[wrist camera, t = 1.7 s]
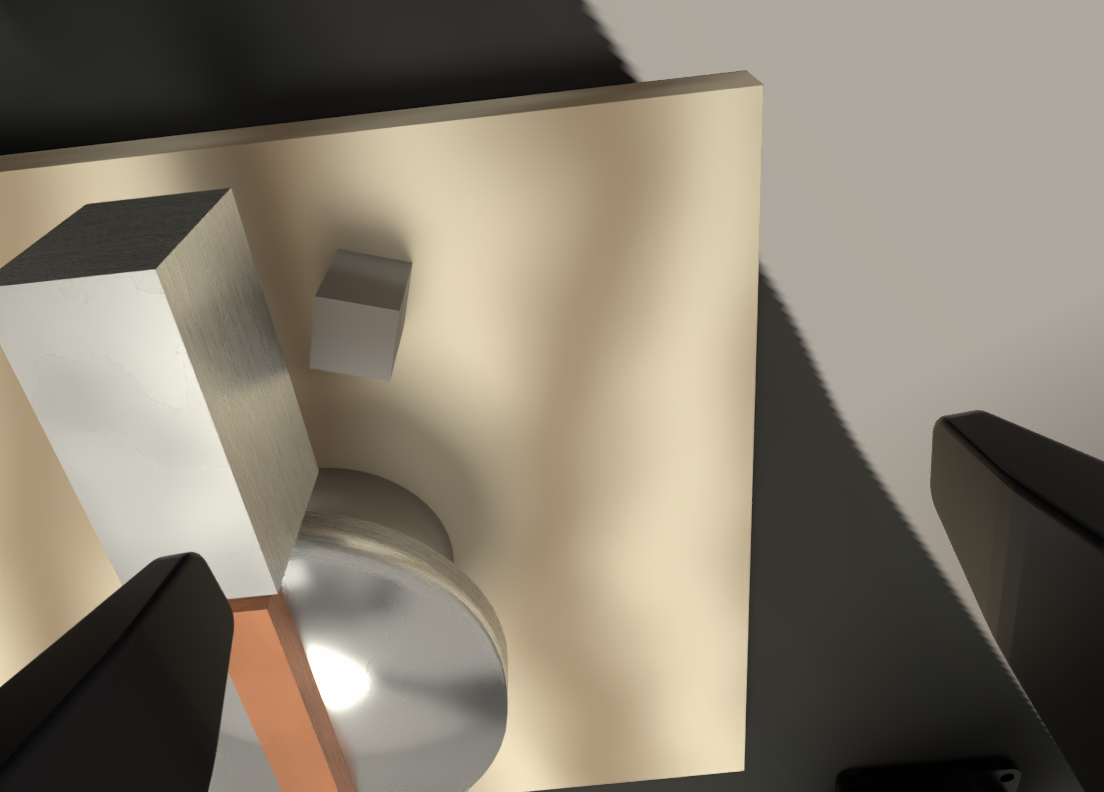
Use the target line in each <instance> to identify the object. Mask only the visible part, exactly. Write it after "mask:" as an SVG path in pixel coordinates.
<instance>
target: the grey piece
mask: <svg viewBox="0 0 1104 792" xmlns="http://www.w3.org/2000/svg"><path fill="white" fill-rule="evenodd" d="M0 345H1V347H2V349H3V351H4V353H5V355H6V357H7V359H8V361H9V363H10V365H11V367H12V369H13V371H14V373H15V375H16V377H17V379H18V381H19V382H20V384H21V386H22V388H23V390H24V392H25V394H26V396H27V398H28V400H29V402H30V404H31V406H32V408H33V410H34V412H35V414H36V416H37V418H38V420H39V422H40V424H41V426H42V428H43V430H44V432H45V434H46V436H47V438H48V440H49V442H50V444H51V446H52V448H53V450H54V452H55V454H56V456H57V457H58V459H59V461H60V463H61V465H62V467H63V469H64V471H65V473H66V475H67V477H68V479H69V481H70V483H71V485H72V487H73V489H74V491H75V493H76V495H77V497H78V499H79V501H80V503H81V505H82V507H83V509H84V511H85V513H86V515H87V517H88V519H89V521H90V523H91V525H92V527H93V529H94V531H95V532H96V534H97V536H98V538H99V540H100V542H101V544H102V546H103V548H104V550H105V552H106V554H107V556H108V558H109V560H110V562H111V564H112V566H113V568H114V570H115V572H116V574H117V576H118V578H119V580H120V582H121V584H122V585H124V584H125V583H126V582H127V581H129V580H130V579H131V578H132V577H133V576H135V575H136V574H137V573H138V572H139V571H141V570H142V569H143V568H144V567H145V566H147V565H148V564H149V563H150V562H152V561H153V560H154V559H156V558H159V557H163V556H168V555H173V554H179V553H184V552H195V553H198V554H200V555H201V556H202V557H203V558H204V559H205V561H206V562H207V564H208V566H209V567H210V569H211V571H212V573H213V575H214V576H215V578H216V580H217V582H218V583H219V585H220V587H221V589H222V591H223V592H224V594H225V596H226V598H227V600H228V601H229V603H230V605H231V608H232V611H233V615H234V635H233V642H232V649H231V656H230V663H229V670H228V677H227V684H226V691H225V698H224V705H223V712H222V719H221V726H220V733H219V740H218V747H217V752H216V758H215V764H214V769H213V773H212V778H211V782H210V786H209V791H208V792H466V791H468V790H469V789H470V788H471V787H472V786H473V785H474V784H475V783H476V782H477V781H478V780H479V779H480V778H481V777H482V776H483V775H484V773H485V772H486V771H487V770H488V768H489V767H490V766H491V764H492V763H493V761H494V759H495V757H496V756H497V754H498V752H499V750H500V748H501V745H502V742H503V739H504V735H505V732H506V724H507V714H508V653H507V642H506V639H505V635H504V632H503V628H502V625H501V623H500V621H499V619H498V616H497V614H496V612H495V610H494V608H493V606H492V605H491V604H490V602H489V601H488V599H487V598H486V596H485V595H484V594H483V592H482V591H481V589H480V588H479V587H478V586H477V585H476V584H475V583H474V582H473V581H472V580H471V579H470V578H469V577H468V576H467V575H466V573H464V572H463V571H462V570H461V569H459V568H458V567H457V566H456V565H455V564H453V563H452V562H451V561H450V560H448V559H447V558H446V557H444V556H443V555H441V554H439V553H438V552H436V551H435V550H433V549H431V548H430V547H428V546H427V545H425V544H423V543H421V542H419V541H417V540H415V539H413V538H411V537H409V536H407V535H405V534H403V533H400V532H398V531H395V530H392V529H389V528H387V527H384V526H381V525H378V524H375V523H372V522H368V521H364V520H360V519H356V518H352V517H348V516H342V515H336V514H329V513H322V512H312V511H306V508H307V505H308V502H309V499H310V496H311V493H312V490H313V487H314V484H315V481H316V478H317V476H318V473H319V470H318V467H317V464H316V460H315V457H314V454H313V451H312V447H311V444H310V441H309V438H308V434H307V431H306V428H305V425H304V422H303V418H302V415H301V412H300V409H299V405H298V402H297V399H296V396H295V392H294V389H293V386H292V383H291V379H290V376H289V373H288V370H287V366H286V363H285V360H284V357H283V354H282V350H281V347H280V344H279V341H278V337H277V334H276V331H275V328H274V324H273V321H272V318H271V315H270V311H269V308H268V305H267V302H266V298H265V295H264V292H263V289H262V285H261V282H260V279H259V276H258V273H257V269H256V266H255V263H254V260H253V256H252V253H251V250H250V247H249V243H248V240H247V237H246V234H245V230H244V227H243V224H242V221H241V217H240V214H239V211H238V208H237V205H236V201H235V198H234V195H233V192H232V188H223V189H215V190H206V191H197V192H188V193H179V194H170V195H161V196H152V197H144V198H135V199H126V200H117V201H108V202H99V203H90V204H85V205H84V206H83V207H81V208H80V209H79V210H77V211H76V212H75V213H73V214H72V215H71V216H69V217H68V218H67V219H65V220H64V221H63V222H61V223H60V224H59V225H57V226H56V227H55V228H53V229H52V230H51V231H50V232H48V233H47V234H46V235H44V236H43V237H42V238H40V239H39V240H38V241H36V242H35V243H34V244H32V245H31V246H30V247H28V248H27V249H26V250H24V251H23V252H22V253H20V254H19V255H18V256H16V257H15V258H14V259H12V260H11V261H10V262H8V263H7V264H6V265H4V266H3V267H2V268H0Z"/></svg>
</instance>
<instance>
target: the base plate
mask: <svg viewBox="0 0 1104 792" xmlns="http://www.w3.org/2000/svg"><path fill="white" fill-rule="evenodd" d="M763 93H764V85H763V84H762V83H761V82H759V81H758V80H757V79H756V78H755V77H753V76H752V75H751V74H750V73H748V72H747V71H746V70H745V71H736V72H728V73H720V74H710V75H702V76H693V77H684V78H675V79H667V80H658V81H649V82H640V83H632V84H623V85H614V86H605V87H597V88H588V89H579V90H570V91H562V92H553V93H544V94H535V95H527V96H518V97H509V98H500V99H492V100H483V101H474V102H465V103H457V104H448V105H439V106H430V107H422V108H413V109H404V110H395V111H387V112H378V113H369V114H360V115H352V116H343V117H334V118H325V119H317V120H308V121H299V122H290V123H282V124H273V125H264V126H255V127H247V128H238V129H229V130H221V131H212V132H203V133H194V134H186V135H177V136H168V137H159V138H151V139H142V140H133V141H124V142H116V143H107V144H98V145H89V146H81V147H72V148H63V149H54V150H46V151H37V152H28V153H19V154H11V155H2V156H0V268H2V267H3V266H4V265H6V264H7V263H8V262H10V261H11V260H12V259H14V258H15V257H16V256H18V255H19V254H20V253H22V252H23V251H24V250H26V249H27V248H28V247H30V246H31V245H32V244H34V243H35V242H36V241H38V240H39V239H40V238H42V237H43V236H44V235H46V234H47V233H48V232H50V231H51V230H52V229H53V228H55V227H56V226H57V225H59V224H60V223H61V222H63V221H64V220H65V219H67V218H68V217H69V216H71V215H72V214H73V213H75V212H76V211H77V210H79V209H80V208H81V207H83V206H84V205H85V204H90V203H99V202H108V201H117V200H126V199H135V198H144V197H152V196H161V195H170V194H179V193H188V192H197V191H206V190H215V189H223V188H232V192H233V195H234V198H235V201H236V205H237V208H238V211H239V214H240V217H241V221H242V224H243V227H244V230H245V234H246V237H247V240H248V243H249V247H250V250H251V253H252V256H253V260H254V263H255V266H256V269H257V273H258V276H259V279H260V282H261V285H262V289H263V292H264V295H265V298H266V302H267V305H268V308H269V311H270V315H271V318H272V321H273V324H274V328H275V331H276V334H277V337H278V341H279V344H280V347H281V350H282V354H283V357H284V360H285V363H286V366H287V370H288V373H289V376H290V379H291V383H292V386H293V389H294V392H295V396H296V399H297V402H298V405H299V409H300V412H301V415H302V418H303V422H304V425H305V428H306V431H307V434H308V438H309V441H310V444H311V447H312V451H313V454H314V457H315V460H316V464H317V467H318V470H319V473H318V476H317V478H316V481H315V484H314V487H313V490H312V493H311V496H310V499H309V502H308V505H307V508H306V511H312V512H322V513H329V514H336V515H342V516H348V517H352V518H356V519H360V520H364V521H368V522H372V523H375V524H378V525H381V526H384V527H387V528H389V529H392V530H395V531H398V532H400V533H403V534H405V535H407V536H409V537H411V538H413V539H415V540H417V541H419V542H421V543H423V544H425V545H427V546H428V547H430V548H431V549H433V550H435V551H436V552H438V553H439V554H441V555H443V556H444V557H446V558H447V559H448V560H450V561H451V562H452V563H453V564H455V565H456V566H457V567H458V568H459V569H461V570H462V571H463V572H464V573H466V575H467V576H468V577H469V578H470V579H471V580H472V581H473V582H474V583H475V584H476V585H477V586H478V587H479V588H480V589H481V591H482V592H483V594H484V595H485V596H486V598H487V599H488V601H489V602H490V604H491V605H492V606H493V608H494V610H495V612H496V614H497V616H498V619H499V621H500V623H501V625H502V628H503V632H504V635H505V639H506V642H507V653H508V714H507V724H506V732H505V735H504V739H503V742H502V745H501V748H500V750H499V752H498V754H497V756H496V757H495V759H494V761H493V763H492V764H491V766H490V767H489V768H488V770H487V771H486V772H485V773H484V775H483V776H482V777H481V778H480V779H479V780H478V781H477V782H476V783H475V784H474V785H473V786H472V787H471V788H470V789H469V790H468V791H466V792H526V791H536V790H547V789H557V788H568V787H578V786H589V785H599V784H610V783H620V782H631V781H642V780H652V779H663V778H673V777H684V776H694V775H705V774H715V773H726V772H736V771H744V756H745V721H746V686H747V651H748V616H749V582H750V547H751V512H752V477H753V442H754V408H755V373H756V338H757V303H758V268H759V232H760V199H761V198H760V196H761V161H762V129H763ZM121 586H122V584H121V582H120V580H119V578H118V576H117V574H116V572H115V570H114V568H113V566H112V564H111V562H110V560H109V558H108V556H107V554H106V552H105V550H104V548H103V546H102V544H101V542H100V540H99V538H98V536H97V534H96V532H95V531H94V529H93V527H92V525H91V523H90V521H89V519H88V517H87V515H86V513H85V511H84V509H83V507H82V505H81V503H80V501H79V499H78V497H77V495H76V493H75V491H74V489H73V487H72V485H71V483H70V481H69V479H68V477H67V475H66V473H65V471H64V469H63V467H62V465H61V463H60V461H59V459H58V457H57V456H56V454H55V452H54V450H53V448H52V446H51V444H50V442H49V440H48V438H47V436H46V434H45V432H44V430H43V428H42V426H41V424H40V422H39V420H38V418H37V416H36V414H35V412H34V410H33V408H32V406H31V404H30V402H29V400H28V398H27V396H26V394H25V392H24V390H23V388H22V386H21V384H20V382H19V381H18V379H17V377H16V375H15V373H14V371H13V369H12V367H11V365H10V363H9V361H8V359H7V357H6V355H5V353H4V351H3V349H2V347H1V345H0V687H1V686H2V685H3V684H4V683H5V682H7V681H8V680H9V679H10V678H12V677H13V676H14V675H15V674H16V673H18V672H19V671H20V670H21V669H22V668H24V667H25V666H26V665H27V664H28V663H30V662H31V661H32V660H33V659H34V658H36V657H37V656H38V655H39V654H40V653H42V652H43V651H44V650H45V649H46V648H48V647H49V646H50V645H51V644H53V643H54V642H55V641H56V640H57V639H59V638H60V637H61V636H62V635H63V634H65V633H66V632H67V631H68V630H69V629H71V628H72V627H73V626H74V625H75V624H77V623H78V622H79V621H80V620H81V619H83V618H84V617H85V616H86V615H88V614H89V613H90V612H91V611H92V610H94V609H95V608H96V607H97V606H98V605H100V604H101V603H102V602H103V601H104V600H106V599H107V598H108V597H109V596H110V595H112V594H113V593H114V592H115V591H116V590H118V589H119V588H120V587H121Z"/></svg>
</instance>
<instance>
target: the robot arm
mask: <svg viewBox="0 0 1104 792" xmlns="http://www.w3.org/2000/svg"><path fill="white" fill-rule="evenodd" d="M930 488H931V495H932V499H933V503H934V506H935V508H936V511H937V513H938V515H939V518H940V520H941V522H942V524H943V526H944V529H945V531H946V533H947V535H948V538H949V540H950V542H951V544H952V547H953V549H954V551H955V553H956V555H957V557H958V560H959V562H960V564H961V567H962V569H963V571H964V573H965V575H966V578H967V580H968V582H969V584H970V587H971V589H972V591H973V593H974V596H975V598H976V600H977V602H978V605H979V607H980V609H981V611H982V613H983V616H984V618H985V620H986V622H987V624H988V626H989V628H990V630H991V633H992V635H993V637H994V639H995V641H996V643H997V645H998V646H999V648H1000V650H1001V652H1002V653H1003V655H1004V657H1005V659H1006V661H1007V662H1008V664H1009V666H1010V668H1011V669H1012V671H1013V673H1014V674H1015V676H1016V678H1017V679H1018V681H1019V683H1020V684H1021V686H1022V688H1023V689H1024V691H1025V693H1026V694H1027V696H1028V698H1029V699H1030V701H1031V703H1032V704H1033V706H1034V708H1035V709H1036V711H1037V713H1038V714H1039V716H1040V718H1041V719H1042V721H1043V723H1044V725H1045V726H1046V728H1047V730H1048V731H1049V733H1050V735H1051V736H1052V738H1053V740H1054V741H1055V743H1056V745H1057V746H1058V748H1059V750H1060V751H1061V753H1062V755H1063V756H1064V758H1065V760H1066V761H1067V763H1068V765H1069V766H1070V768H1071V770H1072V771H1073V773H1074V775H1075V776H1076V778H1077V780H1078V781H1079V783H1080V785H1081V786H1082V788H1083V790H1084V792H1104V461H1102V460H1099V459H1097V458H1095V457H1092V456H1090V455H1088V454H1085V453H1083V452H1081V451H1078V450H1076V449H1073V448H1071V447H1069V446H1066V445H1064V444H1062V443H1059V442H1057V441H1054V440H1052V439H1050V438H1047V437H1045V436H1042V435H1040V434H1038V433H1035V432H1033V431H1031V430H1028V429H1026V428H1023V427H1021V426H1019V425H1016V424H1014V423H1012V422H1009V421H1007V420H1005V419H1002V418H1000V417H997V416H995V415H993V414H990V413H988V412H985V411H981V410H975V411H969V412H964V413H958V414H952V415H947V416H942V417H941V418H939V419H938V420H937V421H936V423H935V425H934V428H933V439H932V458H931V478H930ZM233 635H234V615H233V611H232V608H231V605H230V603H229V601H228V600H227V598H226V596H225V594H224V592H223V591H222V589H221V587H220V585H219V583H218V582H217V580H216V578H215V576H214V575H213V573H212V571H211V569H210V567H209V566H208V564H207V562H206V561H205V559H204V558H203V557H202V556H201V555H200V554H198V553H195V552H184V553H179V554H173V555H168V556H163V557H159V558H156V559H154V560H153V561H152V562H150V563H149V564H148V565H147V566H145V567H144V568H143V569H142V570H141V571H139V572H138V573H137V574H136V575H135V576H133V577H132V578H131V579H130V580H129V581H127V582H126V583H125V584H124V585H122V586H121V587H120V588H119V589H118V590H116V591H115V592H114V593H113V594H112V595H110V596H109V597H108V598H107V599H106V600H104V601H103V602H102V603H101V604H100V605H98V606H97V607H96V608H95V609H94V610H92V611H91V612H90V613H89V614H88V615H86V616H85V617H84V618H83V619H81V620H80V621H79V622H78V623H77V624H75V625H74V626H73V627H72V628H71V629H69V630H68V631H67V632H66V633H65V634H63V635H62V636H61V637H60V638H59V639H57V640H56V641H55V642H54V643H53V644H51V645H50V646H49V647H48V648H46V649H45V650H44V651H43V652H42V653H40V654H39V655H38V656H37V657H36V658H34V659H33V660H32V661H31V662H30V663H28V664H27V665H26V666H25V667H24V668H22V669H21V670H20V671H19V672H18V673H16V674H15V675H14V676H13V677H12V678H10V679H9V680H8V681H7V682H5V683H4V684H3V685H2V686H1V687H0V792H208V791H209V786H210V782H211V778H212V773H213V769H214V764H215V758H216V752H217V747H218V740H219V733H220V726H221V719H222V712H223V705H224V698H225V691H226V684H227V677H228V670H229V663H230V656H231V649H232V642H233ZM1020 779H1021V772H1020V770H1019V769H1018V767H1017V765H1016V763H1015V762H1014V761H1012V760H1010V759H1002V760H992V761H981V762H971V763H960V764H950V765H939V766H929V767H918V768H907V769H897V770H886V771H876V772H865V773H855V774H848V775H845V776H843V777H841V778H840V779H839V780H838V782H837V786H836V792H1017V789H1018V785H1019V782H1020Z"/></svg>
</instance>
